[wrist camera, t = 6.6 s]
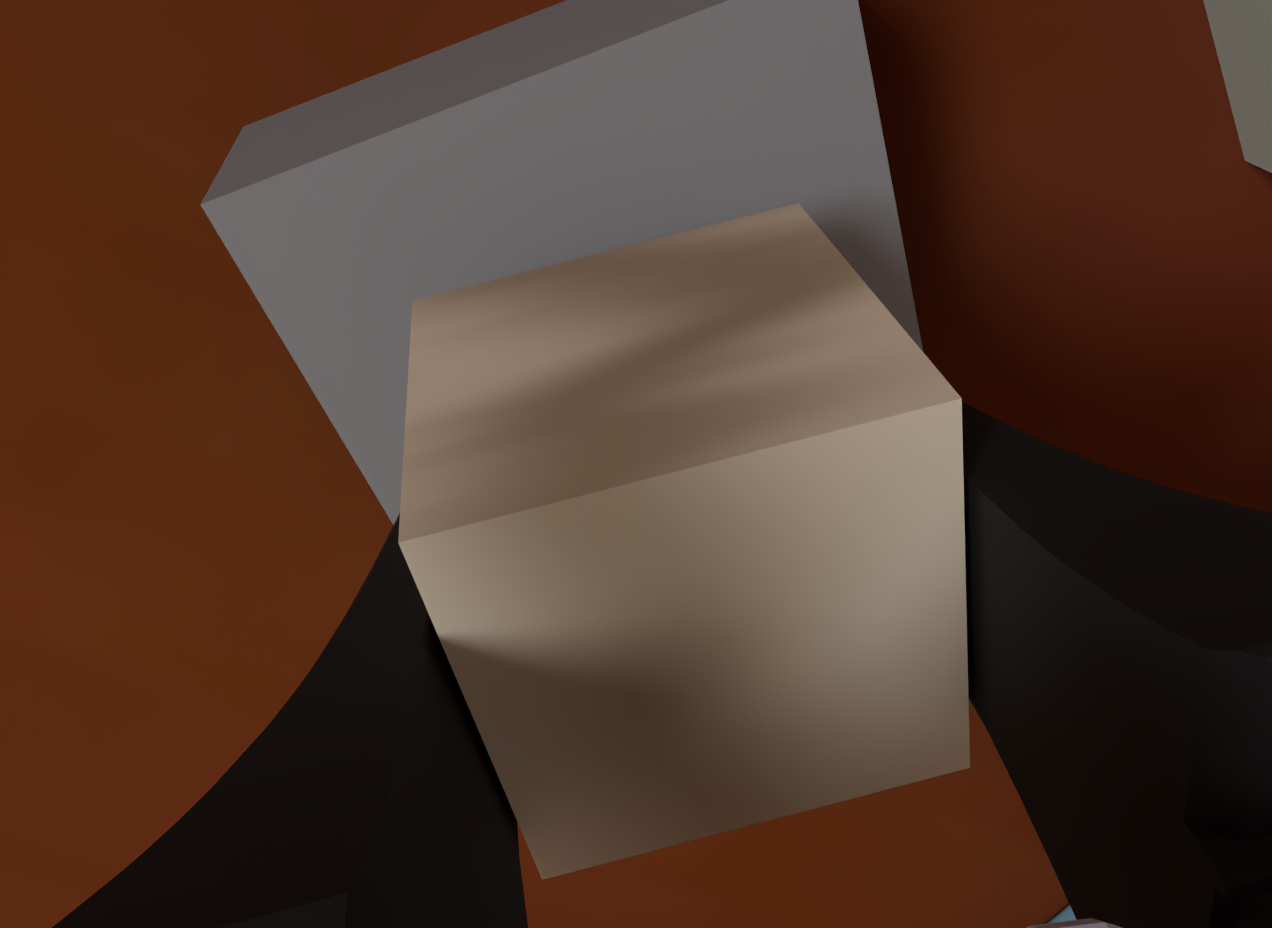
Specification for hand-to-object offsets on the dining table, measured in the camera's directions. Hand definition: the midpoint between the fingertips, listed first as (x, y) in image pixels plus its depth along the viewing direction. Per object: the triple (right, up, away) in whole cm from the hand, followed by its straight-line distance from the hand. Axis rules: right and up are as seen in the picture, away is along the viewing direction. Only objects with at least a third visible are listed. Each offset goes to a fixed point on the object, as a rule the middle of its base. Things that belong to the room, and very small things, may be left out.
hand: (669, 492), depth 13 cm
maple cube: (0, +1, +1) cm, 2 cm away
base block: (-1, +4, +6) cm, 8 cm away
